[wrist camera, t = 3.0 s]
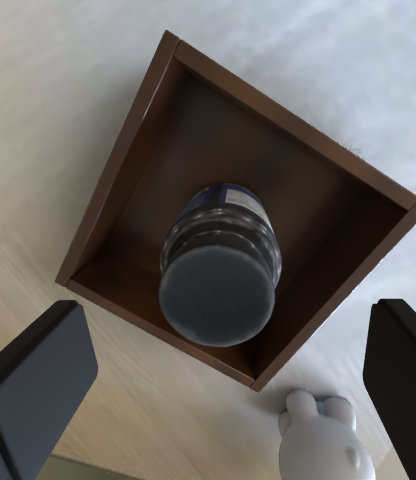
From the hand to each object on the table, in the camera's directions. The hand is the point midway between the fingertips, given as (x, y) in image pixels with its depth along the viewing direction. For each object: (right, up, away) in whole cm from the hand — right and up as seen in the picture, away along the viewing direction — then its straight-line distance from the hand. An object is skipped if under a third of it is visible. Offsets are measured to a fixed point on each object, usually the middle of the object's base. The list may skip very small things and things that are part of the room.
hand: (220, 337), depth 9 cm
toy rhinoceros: (+9, -15, +20) cm, 27 cm away
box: (+1, +5, +13) cm, 14 cm away
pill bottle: (+1, +5, +13) cm, 13 cm away
